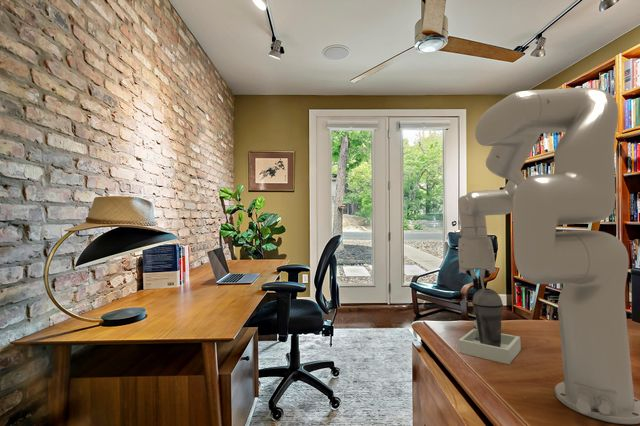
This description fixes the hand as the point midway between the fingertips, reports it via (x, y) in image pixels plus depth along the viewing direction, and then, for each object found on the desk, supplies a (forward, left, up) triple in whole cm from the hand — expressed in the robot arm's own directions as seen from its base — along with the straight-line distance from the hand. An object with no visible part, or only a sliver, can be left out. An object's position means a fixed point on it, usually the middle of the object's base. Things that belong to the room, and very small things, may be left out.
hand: (479, 291), depth 98 cm
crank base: (-7, -3, -12) cm, 14 cm away
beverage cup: (-15, -7, -12) cm, 20 cm away
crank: (-3, -3, -9) cm, 10 cm away
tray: (-15, -7, -12) cm, 20 cm away
